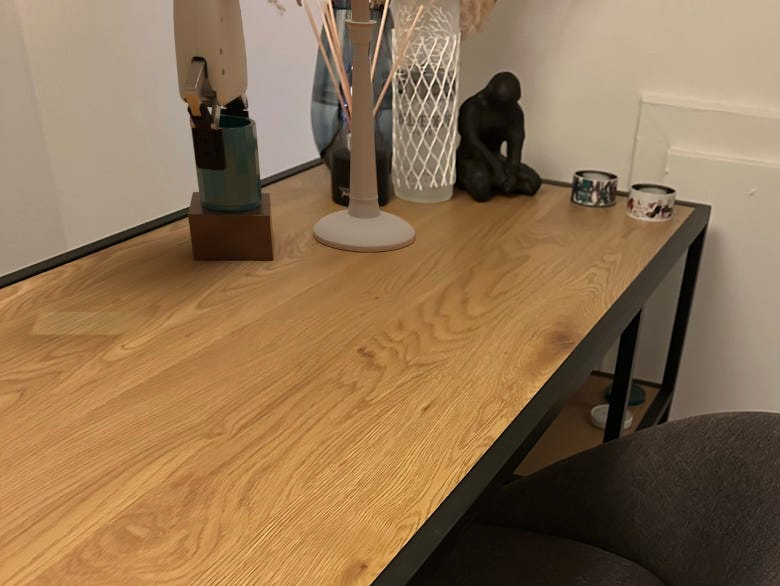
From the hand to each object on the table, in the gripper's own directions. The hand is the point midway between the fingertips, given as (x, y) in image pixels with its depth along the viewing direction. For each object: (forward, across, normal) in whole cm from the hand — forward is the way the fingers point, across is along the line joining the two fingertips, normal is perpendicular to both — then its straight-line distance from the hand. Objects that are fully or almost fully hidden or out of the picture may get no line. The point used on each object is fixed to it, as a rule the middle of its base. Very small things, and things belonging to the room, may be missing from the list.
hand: (225, 158), depth 106 cm
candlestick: (+10, -9, +14) cm, 19 cm away
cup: (+5, 0, 0) cm, 5 cm away
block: (+10, 0, 0) cm, 10 cm away
